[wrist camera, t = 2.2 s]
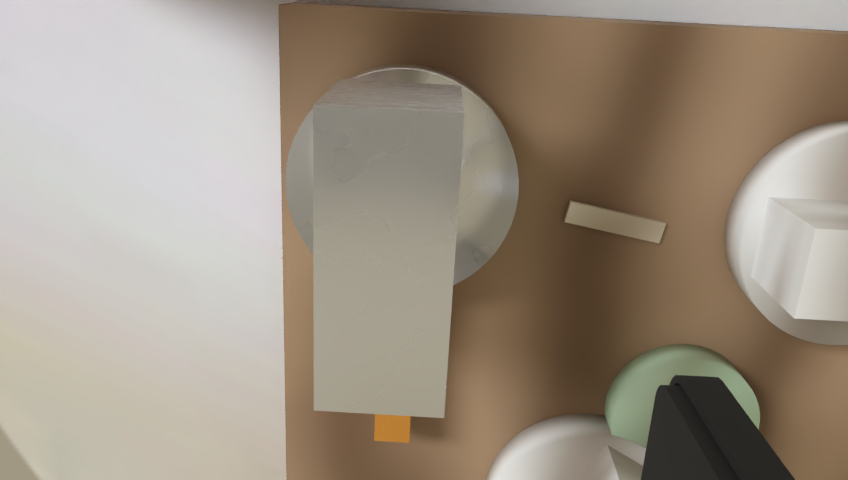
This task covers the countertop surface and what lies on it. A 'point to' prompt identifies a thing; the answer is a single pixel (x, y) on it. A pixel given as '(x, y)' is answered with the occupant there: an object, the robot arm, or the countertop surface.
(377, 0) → the countertop surface
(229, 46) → the countertop surface
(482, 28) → the plate
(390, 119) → the knob
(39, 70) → the countertop surface
